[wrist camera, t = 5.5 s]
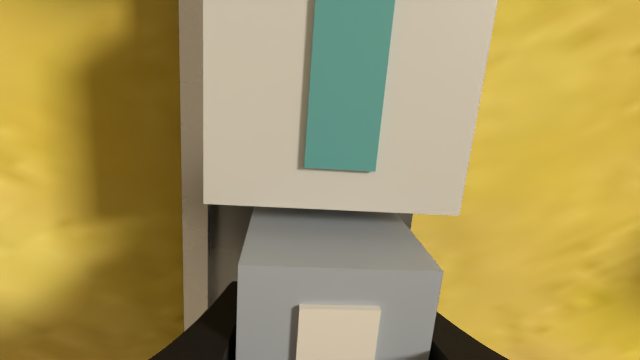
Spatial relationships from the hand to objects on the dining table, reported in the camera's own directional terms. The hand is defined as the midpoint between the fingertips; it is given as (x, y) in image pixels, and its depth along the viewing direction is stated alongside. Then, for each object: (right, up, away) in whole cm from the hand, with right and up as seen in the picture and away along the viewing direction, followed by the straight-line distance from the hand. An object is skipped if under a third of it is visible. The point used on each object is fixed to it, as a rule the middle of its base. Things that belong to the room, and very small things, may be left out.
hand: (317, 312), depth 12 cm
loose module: (0, +1, +2) cm, 2 cm away
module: (0, +7, +1) cm, 7 cm away
